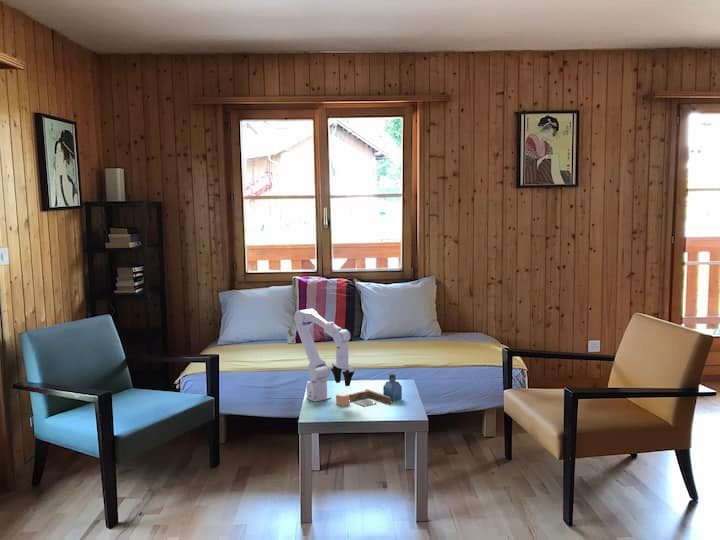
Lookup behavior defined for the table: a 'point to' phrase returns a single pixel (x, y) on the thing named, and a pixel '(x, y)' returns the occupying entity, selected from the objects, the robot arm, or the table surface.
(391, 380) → the perfume bottle
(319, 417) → the table surface
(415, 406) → the table surface
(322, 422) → the table surface
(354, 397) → the corner arena
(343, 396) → the terracotta cube
